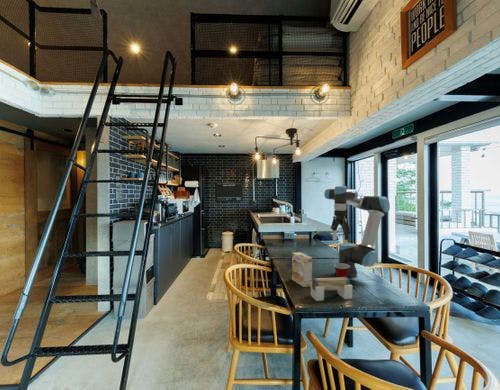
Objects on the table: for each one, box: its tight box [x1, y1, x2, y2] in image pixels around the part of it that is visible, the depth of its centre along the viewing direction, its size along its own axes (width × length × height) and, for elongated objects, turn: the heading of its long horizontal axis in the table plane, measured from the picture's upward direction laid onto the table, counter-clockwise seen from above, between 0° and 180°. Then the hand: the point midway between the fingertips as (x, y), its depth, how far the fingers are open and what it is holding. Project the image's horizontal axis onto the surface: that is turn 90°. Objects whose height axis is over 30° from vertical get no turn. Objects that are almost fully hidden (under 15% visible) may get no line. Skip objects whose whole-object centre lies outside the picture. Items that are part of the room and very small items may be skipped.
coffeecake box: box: [291, 251, 313, 288], centre depth 172 cm, size 15×7×20 cm, turn 21°
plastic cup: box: [333, 262, 350, 278], centre depth 175 cm, size 11×11×12 cm
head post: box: [310, 282, 325, 302], centre depth 149 cm, size 8×5×8 cm, turn 9°
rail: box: [312, 276, 351, 292], centre depth 150 cm, size 4×22×6 cm, turn 99°
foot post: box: [337, 284, 353, 300], centre depth 151 cm, size 8×5×8 cm, turn 9°
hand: (339, 242), depth 161 cm, fingers open, 13 cm apart
